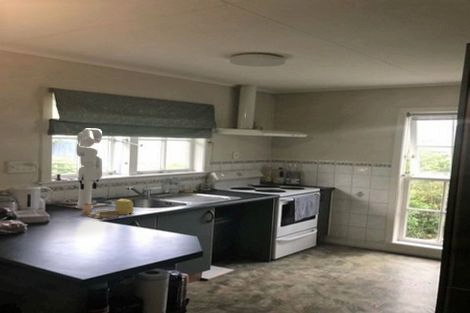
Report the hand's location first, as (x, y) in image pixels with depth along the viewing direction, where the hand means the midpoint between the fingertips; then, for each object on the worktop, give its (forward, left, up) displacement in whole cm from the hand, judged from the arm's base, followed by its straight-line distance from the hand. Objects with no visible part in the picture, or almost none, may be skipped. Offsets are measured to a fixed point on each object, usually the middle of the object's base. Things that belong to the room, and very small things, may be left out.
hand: (88, 189), depth 321 cm
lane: (+12, +5, -18) cm, 22 cm away
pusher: (+11, +5, -18) cm, 22 cm away
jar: (0, 0, -18) cm, 18 cm away
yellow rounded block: (+9, +25, -18) cm, 32 cm away
